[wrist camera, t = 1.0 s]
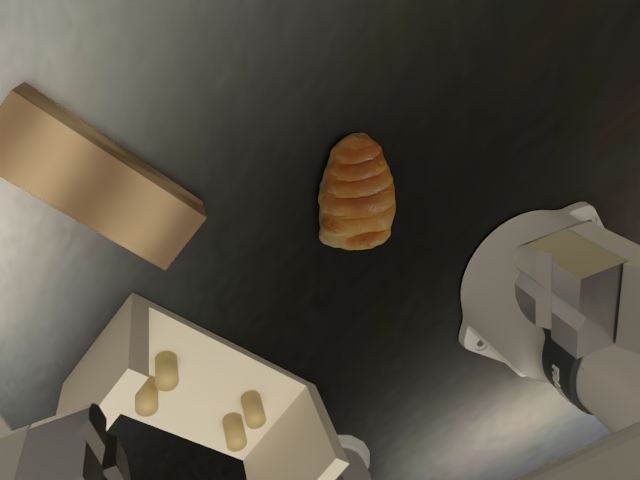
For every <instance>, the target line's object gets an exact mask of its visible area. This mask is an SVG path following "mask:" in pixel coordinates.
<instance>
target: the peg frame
mask: <svg viewBox="0 0 640 480" xmlns="http://www.w3.org/2000/svg"><path fill="white" fill-rule="evenodd" d="M91 403H95V404H97V405H99V407H100V409H101V410H102V412H103V413H104V415H105V417H106V418H107V424H106V431H107V430H108V429H109V427H110V426H111V425H112V424H113V422H114V421H115V420H116V418H117V417H118V416H119V415H120V414H123V415H126V416H128V417H131V418H133V419H136V420H139V421H141V422H144V423H146V424H149V425H152V426H154V427H157V428H160V429H162V430H165V431H167V432H170V433H173V434H175V435H178V436H180V437H183V438H186V439H188V440H191V441H193V442H196V443H199V444H201V445H204V446H207V447H209V448H212V449H214V450H217V451H220V452H222V453H225V454H227V455H230V456H233V457H235V458H238V459H241V460H243V463H244V467H245V472H246V477H247V480H335V479H336V478H337V477H338V476H339V475H340V474H341V473H342V472H343V471H344V469H345V468H346V467H347V466H348V465H349V461H348V459H347V457H346V454H345V452H344V450H343V448H342V445H341V443H340V441H339V438H338V436H337V434H336V432H335V429H334V427H333V425H332V422H331V420H330V418H329V416H328V413H327V411H326V409H325V406H324V404H323V402H322V400H321V397H320V395H319V393H318V390H317V388H316V386H315V385H314V384H312V383H310V382H308V381H306V380H304V379H302V378H300V377H298V376H296V375H294V374H292V373H290V372H289V371H287V370H285V369H283V368H281V367H279V366H277V365H275V364H273V363H271V362H269V361H267V360H265V359H263V358H261V357H259V356H257V355H255V354H253V353H251V352H249V351H247V350H245V349H243V348H241V347H239V346H237V345H236V344H234V343H232V342H230V341H228V340H226V339H224V338H222V337H220V336H218V335H216V334H214V333H212V332H210V331H208V330H206V329H204V328H202V327H200V326H198V325H196V324H194V323H192V322H190V321H188V320H186V319H184V318H183V317H181V316H179V315H177V314H175V313H173V312H171V311H169V310H167V309H165V308H163V307H161V306H159V305H157V304H155V303H153V302H151V301H149V300H147V299H145V298H143V297H141V296H139V295H137V294H135V293H133V292H132V293H131V294H130V296H129V297H128V298H127V300H126V301H125V302H124V304H123V305H122V306H121V307H120V309H119V310H118V311H117V313H116V314H115V315H114V317H113V318H112V319H111V321H110V322H109V323H108V325H107V326H106V327H105V329H104V330H103V331H102V333H101V334H100V335H99V336H98V338H97V339H96V340H95V342H94V343H93V344H92V346H91V347H90V348H89V350H88V351H87V352H86V354H85V355H84V356H83V358H82V359H81V360H80V362H79V363H78V364H77V365H76V367H75V368H74V369H73V371H72V372H71V373H70V375H69V376H68V377H67V379H66V380H65V381H64V383H63V386H62V390H61V395H60V399H59V404H58V408H57V413H56V415H59V414H62V413H65V412H68V411H71V410H74V409H77V408H79V407H82V406H85V405H88V404H91Z"/></svg>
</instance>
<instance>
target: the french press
mask: <svg viewBox="0 0 640 480" xmlns="http://www.w3.org/2000/svg"><path fill="white" fill-rule="evenodd" d="M337 436H338V438H339V441H340V443H341V445H342V448H343V450H344V452H345V454H346V457H347V459H348V461H349V465H348V466H347V467H346V468H345V469H344V471H343V472H342V473H341V474H340V475H339V476H338V477H337V478H336V479H335V480H372V478H371V475H370V473H369V471H368V467H369V465H370V452H369V450H368V448H367V447H366V445H365V444H364V442H363V441H361V440H359V439H357V438H355V437H353V436H350V435H337Z"/></svg>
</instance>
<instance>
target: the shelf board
mask: <svg viewBox="0 0 640 480" xmlns="http://www.w3.org/2000/svg"><path fill="white" fill-rule="evenodd" d="M0 177H2V178H3V179H5V180H7V181H9V182H10V183H12V184H14V185H16V186H17V187H19V188H21V189H23V190H24V191H26V192H28V193H30V194H31V195H33V196H35V197H37V198H38V199H40V200H42V201H44V202H45V203H47V204H49V205H51V206H53V207H54V208H56V209H58V210H60V211H61V212H63V213H65V214H67V215H68V216H70V217H72V218H74V219H75V220H77V221H79V222H81V223H82V224H84V225H86V226H88V227H89V228H91V229H93V230H95V231H96V232H98V233H100V234H102V235H103V236H105V237H107V238H109V239H110V240H112V241H114V242H116V243H117V244H119V245H121V246H123V247H124V248H126V249H128V250H130V251H132V252H133V253H135V254H137V255H139V256H140V257H142V258H144V259H146V260H147V261H149V262H151V263H153V264H154V265H156V266H158V267H160V268H161V269H163V270H166V269H167V268H168V266H169V265H170V264H171V263H172V261H173V260H174V259H175V258H176V256H177V255H178V254H179V252H180V251H181V250H182V249H183V247H184V246H185V245H186V244H187V242H188V241H189V240H190V239H191V237H192V236H193V235H194V233H195V232H196V231H197V230H198V228H199V227H200V226H201V225H202V223H203V222H204V221H205V220H206V218H207V217H206V213H205V209H204V206H203V202H202V200H200V199H199V198H197V197H196V196H194V195H193V194H191V193H190V192H188V191H187V190H185V189H184V188H182V187H181V186H179V185H178V184H176V183H175V182H173V181H172V180H170V179H169V178H167V177H166V176H164V175H163V174H161V173H160V172H158V171H157V170H155V169H154V168H152V167H151V166H149V165H148V164H146V163H145V162H143V161H142V160H140V159H139V158H137V157H136V156H134V155H133V154H131V153H130V152H128V151H127V150H125V149H124V148H122V147H121V146H119V145H118V144H116V143H115V142H113V141H112V140H110V139H109V138H108V137H106V136H105V135H103V134H102V133H100V132H99V131H97V130H96V129H94V128H93V127H91V126H90V125H88V124H87V123H85V122H84V121H82V120H81V119H79V118H78V117H76V116H75V115H73V114H72V113H70V112H69V111H67V110H66V109H64V108H63V107H61V106H60V105H58V104H57V103H55V102H54V101H52V100H51V99H49V98H48V97H46V96H45V95H43V94H42V93H40V92H39V91H37V90H36V89H34V88H33V87H31V86H30V85H28V84H27V83H25V82H24V83H22V84H21V85H19V86H17V87H16V88H14V89H13V90H11V92H10V93H9V95H8V96H7V97H6V99H5V100H4V102H3V103H2V105H1V106H0Z"/></svg>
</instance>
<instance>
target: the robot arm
mask: <svg viewBox="0 0 640 480" xmlns="http://www.w3.org/2000/svg"><path fill="white" fill-rule="evenodd" d="M461 305H462V311H463V321H462V324H461V328H460V332H459V343H460V344H461V345H462V346H463V347H465V348H466V349H467V350H470V351H473V352H475V353H478V354H481V355H484V356H487V357H490V358H492V359H495V360H498V361H501V362H504V363H506V364H507V365H508V366H509V367H510V368H511V369H512V370H513V371H514V372H515V373H517V374H518V375H519V376H521V377H526V376H527V377H529V378H532V379H534V380H538V381H542V382H547V383H551V384H552V385H553V386H554V387H555V388H556V389H557V390H558V392H560V394H561V395H562V396H563V397H564V398H565V399H566V400H568V401H570V402H571V403H572V404H573V405H575V406H576V407H578V408H579V409H580V410H581V411H583V412H585V413H587V414H591V415H594V416H595V417H596V418H597V419H598V420H599V421H600V422H601V423H602V424H604V425H605V426H606V427H607V428H608V429H609V430H610V431H611V432H612V433H613V434H611V435H609V436H607V437H605V438H603V439H601V440H599V441H596V442H594V443H592V444H590V445H588V446H586V447H584V448H581V449H579V450H577V451H575V452H573V453H571V454H569V455H567V456H564V457H562V458H560V459H558V460H556V461H554V462H552V463H549V464H547V465H545V466H543V467H541V468H539V469H537V470H534V471H532V472H530V473H528V474H526V475H524V476H522V477H520V478H517V479H515V480H640V245H638V244H636V243H634V242H632V241H630V240H628V239H626V238H623V237H621V236H619V235H617V234H615V233H613V232H611V231H609V230H607V229H605V228H604V226H603V224H602V222H601V220H600V218H599V216H598V214H597V212H596V210H595V208H594V207H593V206H591V205H590V204H588V203H586V202H578V203H575V204H572V205H569V206H567V207H565V208H563V209H560V210H537V211H531V212H527V213H524V214H521V215H518V216H516V217H514V218H512V219H510V220H508V221H507V222H505V223H503V224H502V225H501V226H499V227H498V228H497V229H495V230H494V231H493V232H492V233H491V234H490V235H489V236H488V237H487V238H486V239H485V240H484V241H483V242H482V243H481V245H480V246H479V247H478V249H477V250H476V251H475V253H474V254H473V256H472V258H471V260H470V262H469V264H468V266H467V268H466V271H465V273H464V277H463V280H462V285H461ZM478 341H479V342H478ZM106 424H107V418H106V417H105V415H104V413H103V412H102V410H101V409H100V407H99V405H97V404H95V403H91V404H88V405H85V406H82V407H79V408H77V409H74V410H71V411H68V412H65V413H62V414H59V415H56V416H54V417H51V418H48V419H45V420H42V421H39V422H36V423H33V424H32V425H28V426H25V427H23V428H20V429H17V430H14V431H12V432H9V433H6V434H3V435H1V436H0V480H130V473H129V467H128V462H127V458H126V455H125V453H124V450H123V447H122V445H121V444H120V442H119V440H118V438H117V437H116V436H114V435H111V434H108V433H106Z"/></svg>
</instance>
